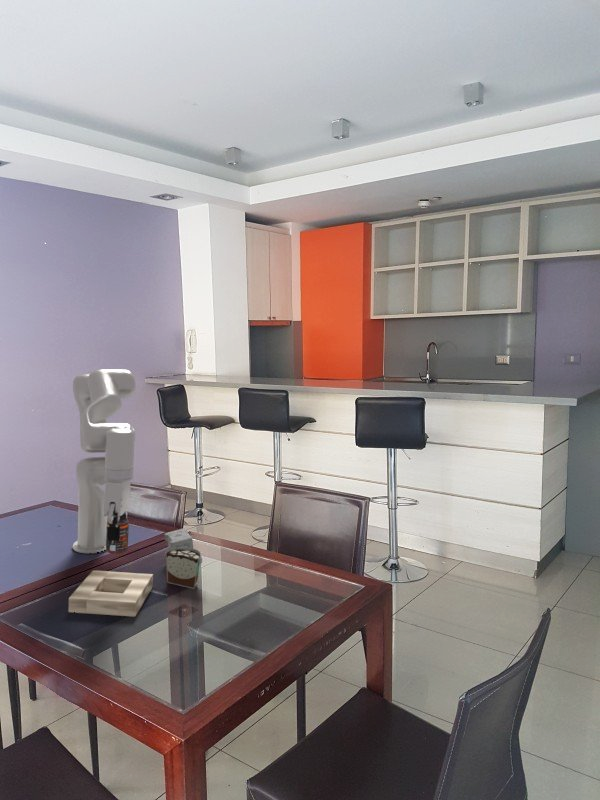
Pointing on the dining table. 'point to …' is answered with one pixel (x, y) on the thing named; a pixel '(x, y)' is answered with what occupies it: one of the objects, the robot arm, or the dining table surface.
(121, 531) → the supplement bottle
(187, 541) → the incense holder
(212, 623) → the dining table surface
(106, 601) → the socket board
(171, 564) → the food container
